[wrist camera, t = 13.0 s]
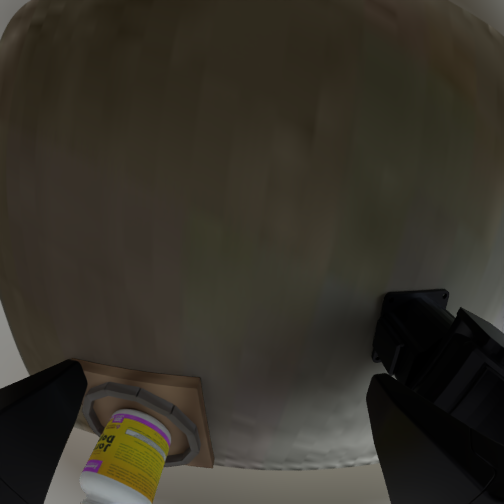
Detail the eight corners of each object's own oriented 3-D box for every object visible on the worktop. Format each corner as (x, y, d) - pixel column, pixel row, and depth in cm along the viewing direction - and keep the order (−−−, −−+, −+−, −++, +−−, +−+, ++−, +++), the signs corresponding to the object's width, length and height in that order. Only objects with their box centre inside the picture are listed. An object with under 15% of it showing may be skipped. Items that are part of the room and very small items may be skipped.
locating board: (200, 377, 23) (194, 398, 20) (214, 458, 27) (211, 476, 24) (72, 357, 23) (59, 372, 21) (110, 439, 27) (103, 454, 24)
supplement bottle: (126, 396, 22) (72, 501, 10) (184, 431, 23) (155, 540, 11) (105, 421, 24) (61, 507, 11) (156, 451, 25) (127, 540, 12)
